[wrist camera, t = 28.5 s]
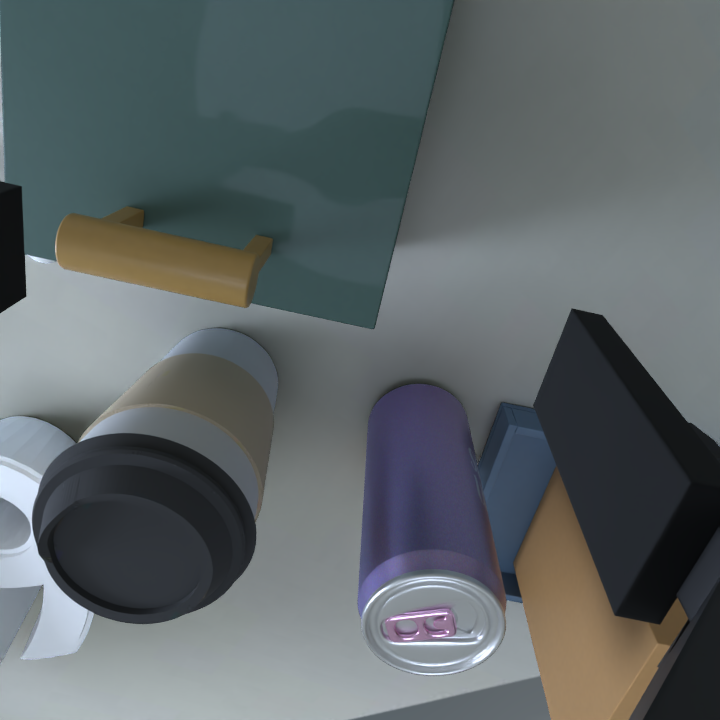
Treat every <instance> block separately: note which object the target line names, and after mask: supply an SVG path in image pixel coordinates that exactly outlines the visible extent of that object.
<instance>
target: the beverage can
mask: <svg viewBox="0 0 720 720" xmlns="http://www.w3.org/2000/svg"><path fill="white" fill-rule="evenodd" d="M358 610H359V614H360V617H361V628H362V633H363V637H364V639H365V642H366V643H367V645H368V647H369V648H370V650H371V651H372V652H373V653H374V654H375V655H376V656H377V657H378V658H379V659H381V660H382V661H383V662H385V663H386V664H388V665H390V666H392V667H394V668H396V669H399V670H401V671H404V672H408V673H412V674H417V675H425V676H442V675H450V674H455V673H460V672H463V671H466V670H469V669H471V668H473V667H475V666H477V665H479V664H481V663H483V662H484V661H485V660H487V659H488V658H489V657H490V656H491V655H492V654H493V653H494V652H495V651H496V650H497V649H498V647H499V646H500V644H501V642H502V640H503V638H504V635H505V630H506V618H505V610H506V594H505V590H504V585H503V581H502V576H501V571H500V567H499V562H498V557H497V553H496V548H495V544H494V539H493V534H492V530H491V525H490V520H489V516H488V511H487V507H486V502H485V497H484V493H483V488H482V483H481V479H480V474H479V470H478V465H477V460H476V456H475V451H474V446H473V442H472V437H471V433H470V428H469V423H468V419H467V415H466V412H465V410H464V408H463V406H462V405H461V403H460V402H459V401H458V400H457V399H456V398H455V397H454V396H453V395H452V394H450V393H449V392H447V391H445V390H443V389H441V388H439V387H436V386H432V385H427V384H410V385H405V386H402V387H399V388H396V389H394V390H392V391H390V392H389V393H387V394H386V395H384V396H383V397H382V398H381V399H380V400H379V401H378V402H377V403H376V405H375V406H374V408H373V409H372V411H371V414H370V416H369V421H368V433H367V450H366V467H365V484H364V501H363V518H362V536H361V553H360V570H359V587H358Z"/></svg>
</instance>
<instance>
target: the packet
mask: <svg viewBox="0 0 720 720" xmlns="http://www.w3.org/2000/svg"><path fill="white" fill-rule="evenodd" d="M513 564H514V568H515V573H516V577H517V581H518V585H519V589H520V593H521V597H522V601H523V606H524V610H525V614H526V618H527V622H528V626H529V630H530V634H531V638H532V643H533V647H534V651H535V655H536V659H537V663H538V667H539V671H540V676H541V680H542V683H543V688H544V692H545V696H546V700H547V704H548V708H549V713H550V717H551V720H629V718H630V716H631V714H632V713H633V711H634V709H635V708H636V706H637V704H638V702H639V701H640V699H641V697H642V696H643V694H644V692H645V690H646V689H647V687H648V685H649V683H650V682H651V680H652V678H653V677H654V675H655V673H656V671H657V670H658V667H657V666H658V664H659V663H660V661H661V660H662V658H663V657H664V655H665V653H666V652H667V650H668V649H669V647H670V646H671V644H672V643H673V641H674V640H675V638H676V637H677V635H678V634H679V632H680V631H681V629H682V628H683V626H684V625H685V623H686V622H687V620H688V617H687V615H686V613H685V611H684V609H683V607H682V605H681V603H680V601H679V599H678V598H677V599H676V600H675V602H674V604H673V605H672V607H671V608H670V610H669V611H668V613H667V615H666V616H665V618H664V619H663V621H662V623H661V624H660V625H658V624H653V623H649V622H644V621H639V620H634V619H629V618H624V617H619V616H615V615H614V613H613V610H612V608H611V605H610V603H609V600H608V597H607V595H606V592H605V590H604V587H603V584H602V582H601V579H600V577H599V574H598V571H597V569H596V566H595V564H594V561H593V559H592V556H591V553H590V551H589V548H588V546H587V543H586V540H585V538H584V535H583V533H582V530H581V528H580V525H579V522H578V520H577V517H576V515H575V512H574V509H573V507H572V504H571V502H570V499H569V497H568V494H567V491H566V489H565V486H564V484H563V481H562V478H561V476H560V473H559V471H558V468H557V465H556V468H555V470H554V472H553V474H552V477H551V479H550V481H549V483H548V486H547V488H546V490H545V492H544V495H543V497H542V499H541V501H540V504H539V506H538V508H537V510H536V513H535V515H534V517H533V519H532V522H531V524H530V526H529V528H528V531H527V533H526V535H525V537H524V540H523V542H522V544H521V546H520V548H519V551H518V553H517V555H516V557H515V560H514V562H513Z"/></svg>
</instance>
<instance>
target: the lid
mask: <svg viewBox="0 0 720 720" xmlns="http://www.w3.org/2000/svg"><path fill="white" fill-rule="evenodd" d="M453 4H454V0H0V38H1V72H2V106H3V140H4V173H5V183H10V184H14V185H19V186H22V203H23V227H24V251H25V255H29V256H34V257H39V258H43V259H48V260H53V261H57V262H58V264H59V265H60V266H61V267H62V268H63V269H67V270H71V271H76V272H81V273H85V274H90V275H95V276H99V277H104V278H109V279H113V280H118V281H123V282H127V283H132V284H137V285H141V286H146V287H151V288H155V289H160V290H165V291H169V292H174V293H179V294H183V295H188V296H193V297H197V298H202V299H207V300H211V301H216V302H221V303H225V304H230V305H235V306H239V307H244V308H247V307H249V306H250V304H251V303H253V304H258V305H262V306H267V307H272V308H276V309H281V310H286V311H290V312H295V313H300V314H304V315H309V316H313V317H318V318H323V319H327V320H332V321H337V322H341V323H346V324H351V325H355V326H360V327H365V328H369V329H374V328H375V325H376V321H377V317H378V313H379V309H380V305H381V300H382V296H383V292H384V288H385V284H386V280H387V276H388V272H389V268H390V263H391V259H392V255H393V251H394V247H395V243H396V239H397V235H398V230H399V226H400V222H401V218H402V214H403V210H404V206H405V202H406V198H407V193H408V189H409V185H410V181H411V177H412V173H413V169H414V165H415V160H416V156H417V152H418V148H419V144H420V140H421V136H422V132H423V128H424V123H425V119H426V115H427V111H428V107H429V103H430V99H431V95H432V90H433V86H434V82H435V78H436V74H437V70H438V66H439V62H440V58H441V53H442V49H443V45H444V41H445V37H446V33H447V29H448V25H449V21H450V16H451V12H452V8H453Z"/></svg>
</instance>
